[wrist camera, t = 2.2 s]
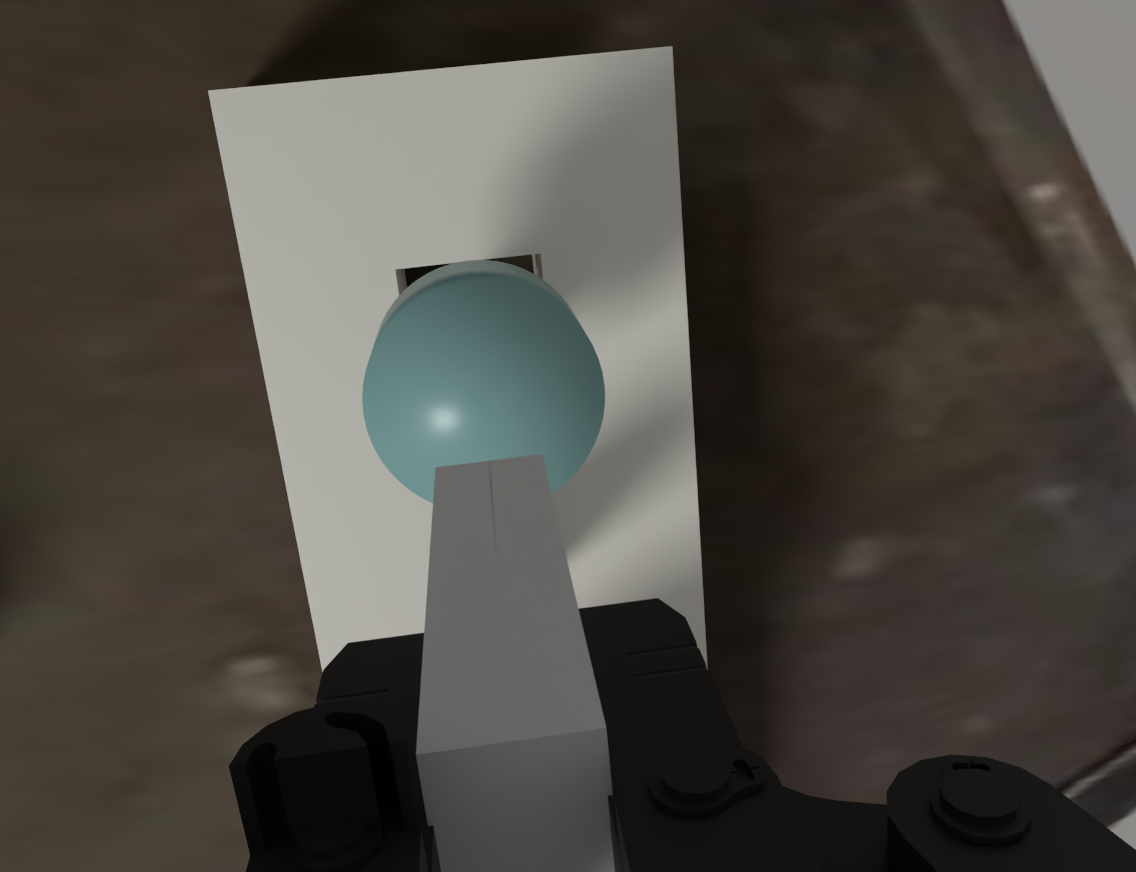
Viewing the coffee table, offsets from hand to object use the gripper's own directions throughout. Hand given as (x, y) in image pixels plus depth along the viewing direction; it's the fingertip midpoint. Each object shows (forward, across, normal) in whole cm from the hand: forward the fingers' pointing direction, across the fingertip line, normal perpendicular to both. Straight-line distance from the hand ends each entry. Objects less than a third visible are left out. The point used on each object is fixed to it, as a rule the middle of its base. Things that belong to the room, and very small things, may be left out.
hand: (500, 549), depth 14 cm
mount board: (+19, 0, -7) cm, 20 cm away
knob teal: (+15, 0, 0) cm, 15 cm away
